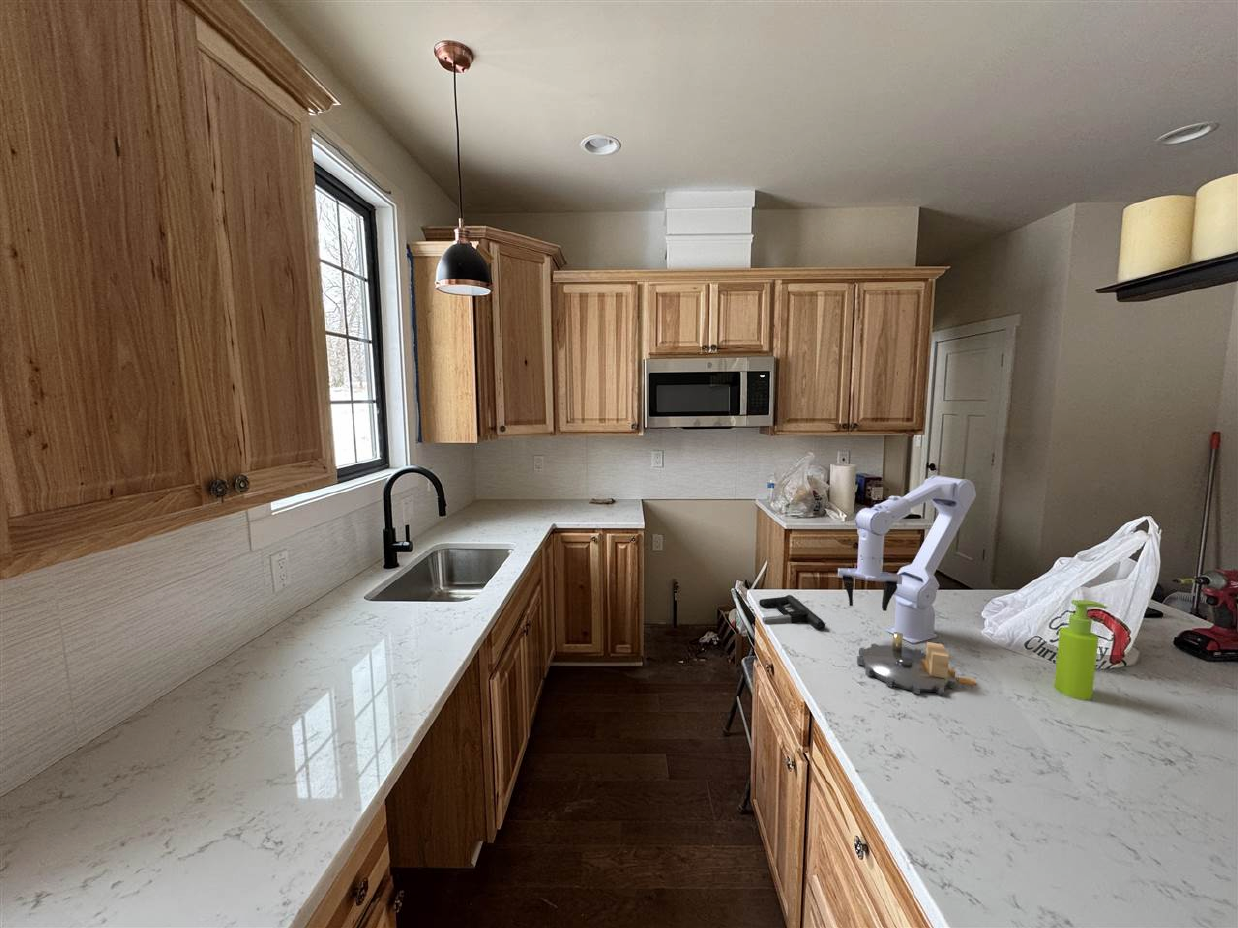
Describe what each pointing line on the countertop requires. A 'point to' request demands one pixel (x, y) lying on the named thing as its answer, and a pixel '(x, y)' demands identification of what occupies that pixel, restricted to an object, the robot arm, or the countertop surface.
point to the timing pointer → (966, 680)
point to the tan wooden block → (937, 660)
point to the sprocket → (902, 667)
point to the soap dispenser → (1077, 654)
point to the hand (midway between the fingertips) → (867, 606)
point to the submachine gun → (790, 612)
